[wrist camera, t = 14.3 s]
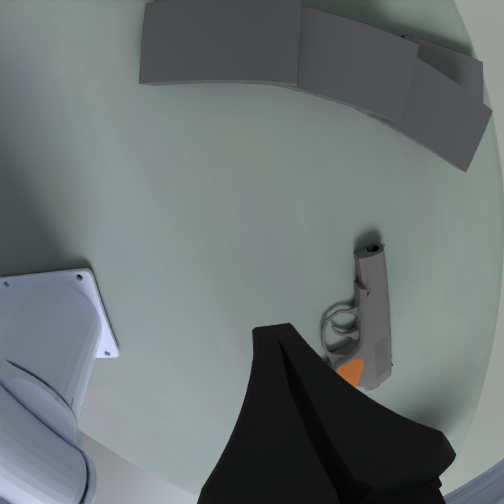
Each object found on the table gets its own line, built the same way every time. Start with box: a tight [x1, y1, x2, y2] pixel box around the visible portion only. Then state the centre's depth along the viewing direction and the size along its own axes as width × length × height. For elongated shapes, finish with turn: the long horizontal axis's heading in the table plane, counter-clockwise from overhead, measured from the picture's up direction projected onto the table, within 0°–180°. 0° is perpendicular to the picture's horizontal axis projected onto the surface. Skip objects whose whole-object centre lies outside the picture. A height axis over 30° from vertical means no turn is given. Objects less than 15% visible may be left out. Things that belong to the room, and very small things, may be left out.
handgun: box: [322, 243, 393, 390], centre depth 26 cm, size 2×16×12 cm
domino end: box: [399, 35, 483, 103], centre depth 17 cm, size 2×5×8 cm
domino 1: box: [139, 0, 302, 87], centre depth 13 cm, size 2×5×8 cm
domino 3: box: [356, 57, 492, 172], centre depth 16 cm, size 2×5×8 cm
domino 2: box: [276, 6, 419, 122], centre depth 14 cm, size 2×5×8 cm
